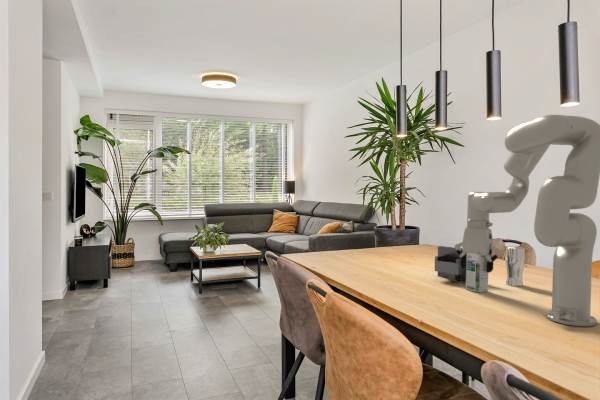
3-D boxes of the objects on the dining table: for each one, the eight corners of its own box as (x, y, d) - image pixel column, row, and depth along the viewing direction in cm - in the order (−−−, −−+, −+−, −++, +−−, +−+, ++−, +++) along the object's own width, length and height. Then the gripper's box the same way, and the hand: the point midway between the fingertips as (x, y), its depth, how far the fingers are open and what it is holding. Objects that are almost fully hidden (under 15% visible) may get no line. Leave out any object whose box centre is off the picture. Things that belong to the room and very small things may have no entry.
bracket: (467, 286, 162) (468, 253, 161) (426, 278, 175) (426, 248, 174) (480, 282, 169) (480, 250, 169) (439, 275, 182) (440, 245, 182)
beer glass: (526, 287, 161) (527, 249, 160) (507, 286, 162) (508, 248, 162) (521, 283, 168) (521, 246, 167) (502, 282, 169) (503, 245, 169)
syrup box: (465, 289, 157) (465, 251, 157) (476, 287, 160) (477, 250, 159) (477, 293, 152) (478, 254, 152) (488, 291, 155) (489, 252, 154)
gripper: (505, 226, 151) (504, 272, 152) (460, 222, 164) (459, 264, 165) (497, 227, 146) (495, 275, 147) (451, 223, 159) (450, 267, 160)
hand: (476, 269), depth 156 cm, fingers open, 9 cm apart
